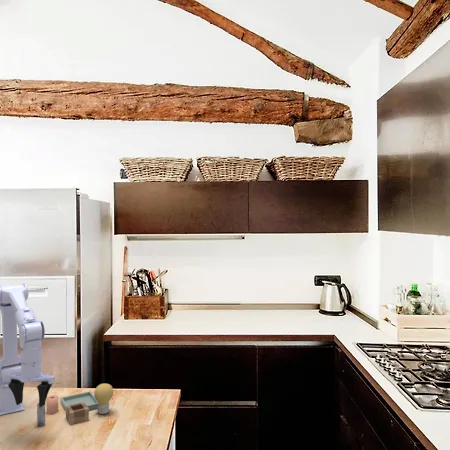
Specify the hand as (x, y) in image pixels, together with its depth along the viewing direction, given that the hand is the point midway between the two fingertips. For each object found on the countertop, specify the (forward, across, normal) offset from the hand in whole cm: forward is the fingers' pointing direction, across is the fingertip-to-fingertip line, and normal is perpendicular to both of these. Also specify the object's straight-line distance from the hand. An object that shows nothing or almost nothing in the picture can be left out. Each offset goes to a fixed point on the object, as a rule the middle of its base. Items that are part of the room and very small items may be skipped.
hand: (30, 404), depth 129 cm
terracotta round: (+10, -2, +16) cm, 19 cm away
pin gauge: (+10, 0, +7) cm, 12 cm away
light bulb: (+10, +16, +18) cm, 26 cm away
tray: (+10, +5, +22) cm, 25 cm away
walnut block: (+10, +9, +12) cm, 18 cm away
